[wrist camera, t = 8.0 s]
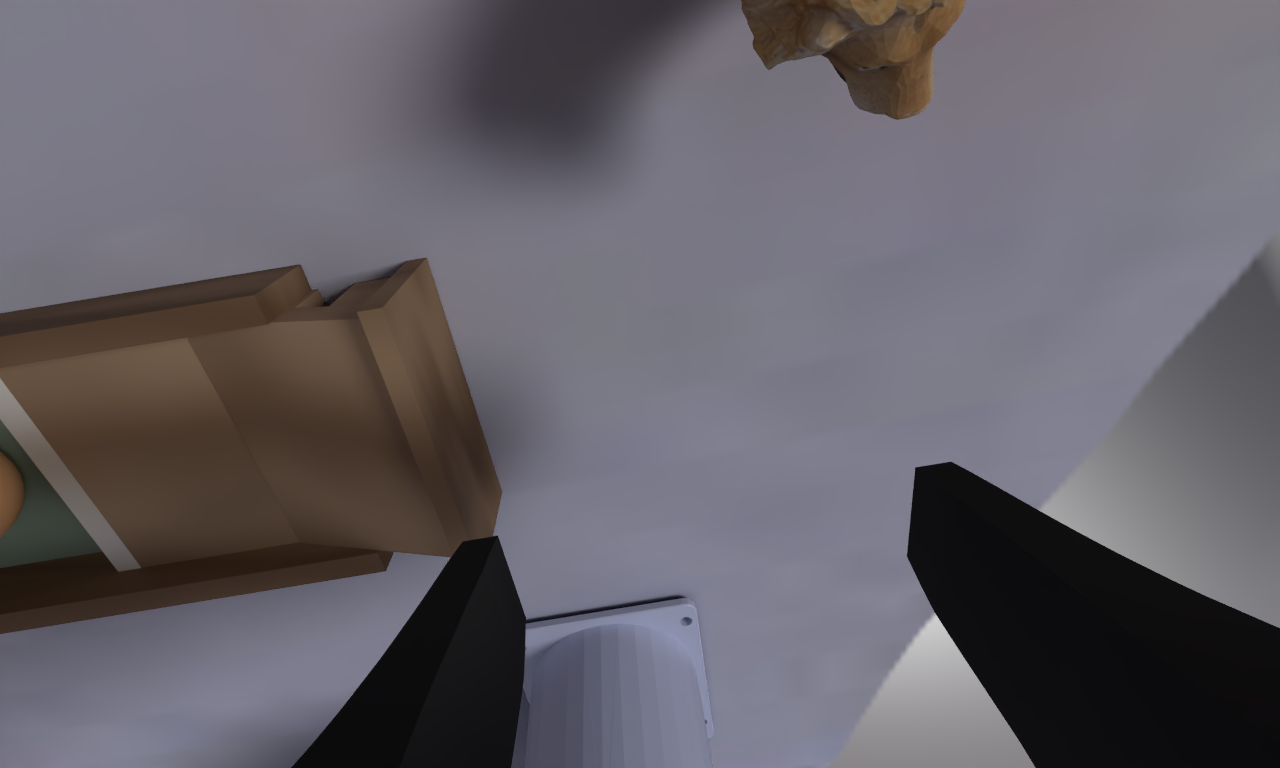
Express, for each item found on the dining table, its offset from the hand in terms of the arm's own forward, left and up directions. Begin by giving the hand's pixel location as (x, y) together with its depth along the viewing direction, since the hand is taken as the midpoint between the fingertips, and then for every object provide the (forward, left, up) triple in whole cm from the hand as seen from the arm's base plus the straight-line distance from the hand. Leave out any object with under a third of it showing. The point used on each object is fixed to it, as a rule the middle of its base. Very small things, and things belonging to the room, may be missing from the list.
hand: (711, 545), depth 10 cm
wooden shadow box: (-1, +16, -10) cm, 19 cm away
